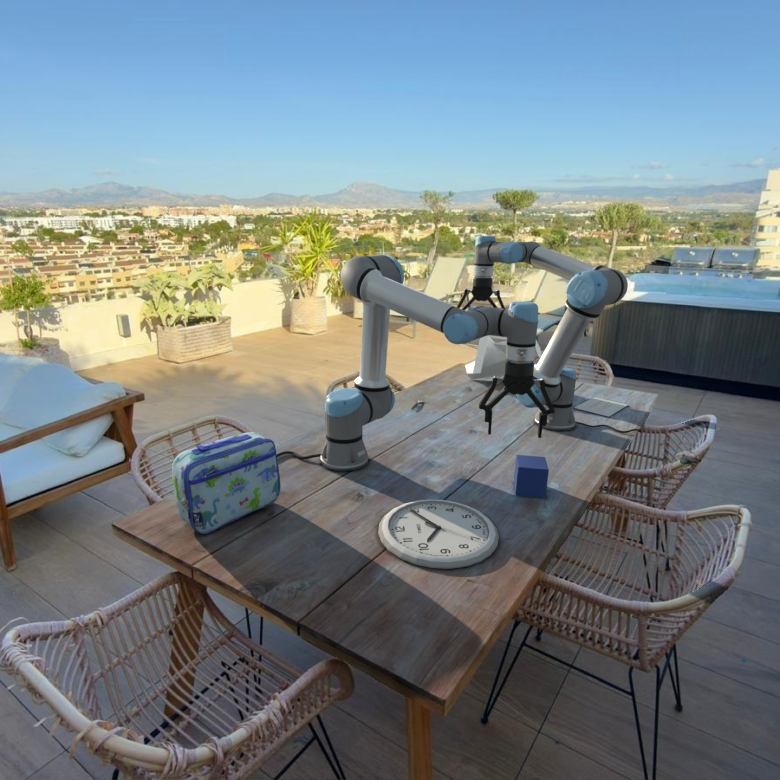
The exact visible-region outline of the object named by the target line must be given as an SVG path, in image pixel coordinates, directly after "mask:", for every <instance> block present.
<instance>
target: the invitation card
mask: <svg viewBox="0 0 780 780" xmlns="http://www.w3.org/2000/svg"><path fill="white" fill-rule="evenodd" d="M628 406H629V404H627V403H623V402H618V401H614V400H609V399H605V398H601V397H596V396H593V397H592V398H590V399H588V400H586V401H584V402H582V403H580V404H578V405H575V406H574V407H573V409H575V410H581V411H584V412H587V413H593V414H596V415H600V416H604V417H608V418H609V417H611V416H613V415H614V414H616V413H617V412H619V411H621V410H623V409H624V408H626V407H628Z"/></svg>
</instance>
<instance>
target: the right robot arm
mask: <svg viewBox="0 0 780 780" xmlns="http://www.w3.org/2000/svg"><path fill="white" fill-rule="evenodd" d="M496 240H497V239H496V236H495V235H478V236H477V237H476V238H475V244H474V261H473V276H474V277H473V278H472V288H471V289H470V288H469V289H468V288H464V292H463V294H462V296H461V298H460V300H459V302H458V304H457V306H456V307H457V308H460V309H462V310H465V311H467V310H468V309H469V308H470V307H471V305H472V304H473V303H474V302H475V301H476V302H486V301H488V303H489V305H491V307H493V308H499V307H498V305H497V304H496V303H495V302H494V300H493V299H492V298H491V296H493V295H494V296H495V297H496V298H497V300H498V303H499V305H500V308H502V309H506V306H505V305H504V303H503V300H502V297H501V292H500V289H495V290H493V280H494V278H493V276H494V265H495V263H501V264H506V265H510V264H518V263H525V264H528V265H531V266H533V267H535V268H537V269H541V270H543V271H546V272H548V273H550V274H553V275H555V276H558V277H560V278H563V279H565V280H567V281H568V283H567V286H566V289H565V290H566V291H565V293H566V301H565V302H564V304H565V306H566V310H565V312H564V314H563V316H562V317H561V319H560V321H559V323H558V325H557V327H556V328H555V330H554V332H553V334H552V336H551V338H550V339H549V341H548V344H547V345H546V347H545V349H544V351H543V352H542V356H541V358H540V359H538V361H537V363H534V372H533V379H534V380H535V379H540V378H543V379H544V381H545V389H546V391H547V393H548V396H549V398H550V400H551V403H552V405H553V407H554V410H555V413H553V414H552V413H551V414H548V416H547V424H546V426H542V429H544V430H549V431H556V432H567V431H572V430H574V429H575V428H576V424H577V425H581V426H584V427H587V428H600V427H603V428H605V427H606V428H608V429H611V430H613V431H615V432H617V433H620V434H627V433H631V432H635V431H637V432H638V433H640V434H643V431H642V430H641V429H639V428H632V429H628V430H619V429H616V428H615V427H613V426H611V425H608V424H597V425H591V424H587V423H584V422H581V421H576V418H575V417H576V416H575V413H574V407H573V405H574V398H575V391H576V383H577V372H576V370H575V369H573V368H571V367H570V368H569V367H566V364H567V362H568V361H569V359H570V357H571V356H572V354H573V352H574V351H575V349H576V347H577V346H578V344H579V342H580V341H581V339H582V337H583V335H584V333H585V332H586V330H587V329H588V327H589V325H590V323H591V321H592V320H597V319H598V318H599V317H600V315H601V314H602V312H603V310H604V309H605V308H606V306H612V305H615V304H616V303H619V302H620V301H621V300H623V298H624V297H625V296H626V294H627V292H628V285H629V283H628V278H627V277H626V275H625V274H624V273H623V272H622V271H621V270H618V269H615V268H612V267H608V266H605V265H603V264H602V265H601V264H599V265H596V266H595V265H594V264H591V263H588V262H585V261H582V260H580V259H577V258H574V257H571V256H568V255H566V254H563V253H561V252H558V251H555V250H552V249H550V248H547V247H545V246H544V247H543V246H542V245H541V244H540V243H539V242H536V241H496ZM470 294H471V295H472V297H471V298H470V299H469V300H468V301H467V303H466V304H465V305H464V306H463V307H462V308H461V306H462V305H463V303H464V302H465V299H466V298H467V296H469V295H470ZM531 390H532V391H533V393H534V394H535V395H536V397H537V398H538V399H539V400H540V402H541V403H542V404H543V405H544V407H545V408H546V409H547V408H548V405H547V403H546V401H545V399H544V396H543V394H542V392H541V389H540V387H537V385H536V384H534V385H533V386H532V387H531ZM515 396H516V399H517V401H518V402H519V403H520V404H521V405H522V406H524V407H526V408H529V409H534V408H538V407H537V405H536V404H535V403H534V402H533V400H532V399H531V398H530V397H529V396H528V394H527V393H526V394H523V395H519V394H515ZM540 412H541V411H540V409H539V408H538V410H537V411H536V413H535V416H534V424H535V425H536V426H538V424H539V413H540Z"/></svg>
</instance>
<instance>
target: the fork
mask: <svg viewBox="0 0 780 780" xmlns="http://www.w3.org/2000/svg"><path fill="white" fill-rule="evenodd" d="M425 397H426V395H420V396H419V397H418V398H417V402H416V403H414V404H413V406H412V407H411V410H413V409H415V408H416V407H418V405H419V403H423V402H424V400H425Z"/></svg>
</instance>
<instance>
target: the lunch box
mask: <svg viewBox="0 0 780 780" xmlns="http://www.w3.org/2000/svg"><path fill="white" fill-rule="evenodd" d="M280 475H281V474H280V467H279V462H278V457H277V448H276V444H275V442H274V441H273V440H272V439H271V438H266V437H264V436H262V435H261V433H260V434H259V433H258V432H254V431H253V432H252V431H250V432H244V433H239V434H235V435H231V436H228V437H224V438H222V439H217V440H214V441H211V442H208V443H205V444H202V445H201V444H199V445H196V447H192V448H190V449H187V450H185V451H182V452H181V453H179V454H178V455H177V456H176V457H175V458H174V460H173V462H172V465H171V477H172V483H173V490H174V491H173V492H174V496H175V503H176V508H177V513H178V516H179V518H180V519H181V521H183V522H185V523H187V524H188V525H189V526H190V527H191V528H192V529H193V531H195V532H197V533H199V534H202V535H206V534H210V533H213V532H214V531H216V530H218V529H220V528H222V527H224V526H226V525H228V524H231V523H233V522H235V521H237V520H239V519H241V518H244V517H245V516H247V515H249V514H251V513H254V512H256V511H258V510H261V509H264V508H266V507H268V506H270V505H272V504H273V503H275V501H277V499H279V495H280V493H281V476H280Z"/></svg>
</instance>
